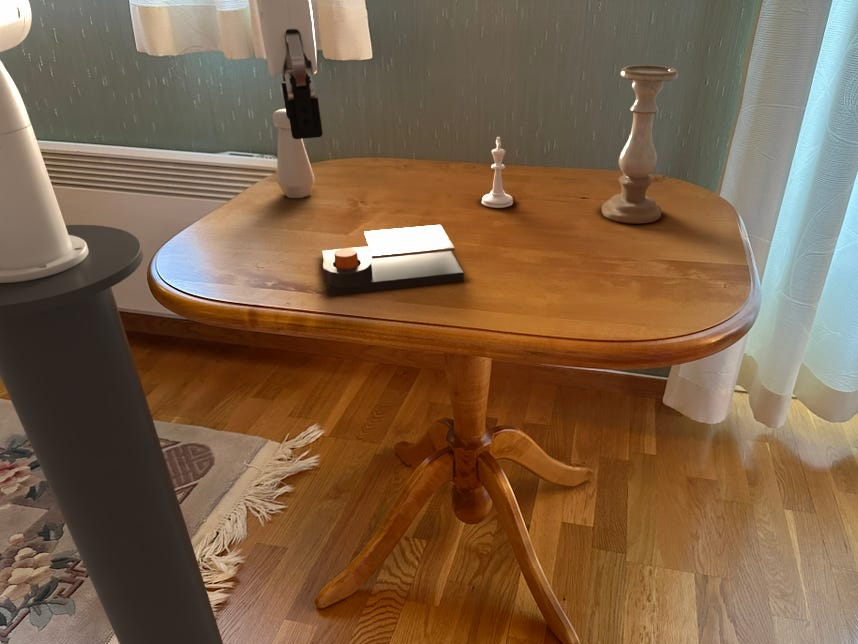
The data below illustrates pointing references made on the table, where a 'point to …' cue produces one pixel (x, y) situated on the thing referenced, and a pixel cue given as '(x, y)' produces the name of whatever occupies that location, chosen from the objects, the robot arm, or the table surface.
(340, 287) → the scale
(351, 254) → the button
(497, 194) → the chess piece
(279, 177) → the salt shaker
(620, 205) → the candle holder
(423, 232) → the weighing plate
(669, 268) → the table surface
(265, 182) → the table surface
